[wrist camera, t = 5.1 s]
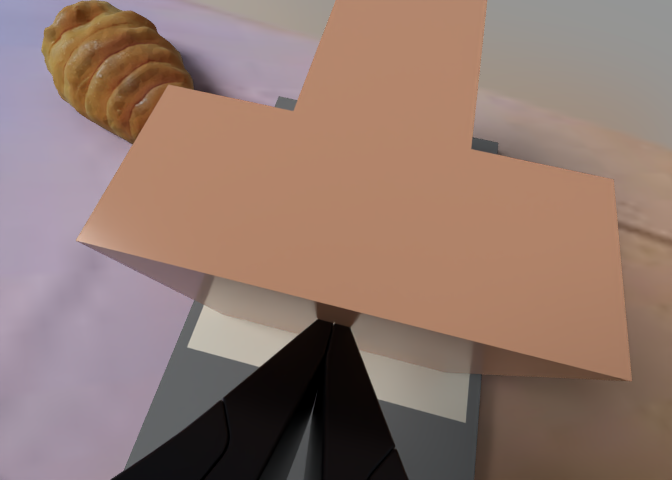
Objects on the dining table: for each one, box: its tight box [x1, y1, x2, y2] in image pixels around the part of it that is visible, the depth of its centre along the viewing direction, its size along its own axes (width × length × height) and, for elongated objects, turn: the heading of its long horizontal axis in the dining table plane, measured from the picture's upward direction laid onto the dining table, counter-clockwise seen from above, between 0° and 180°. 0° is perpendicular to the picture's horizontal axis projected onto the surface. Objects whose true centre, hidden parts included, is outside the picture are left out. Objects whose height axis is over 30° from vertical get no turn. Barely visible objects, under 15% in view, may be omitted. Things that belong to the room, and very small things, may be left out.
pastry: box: [41, 0, 194, 144], centre depth 18 cm, size 9×7×4 cm
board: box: [124, 96, 498, 480], centre depth 15 cm, size 22×13×1 cm, turn 166°
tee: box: [76, 0, 632, 381], centre depth 12 cm, size 12×10×9 cm
